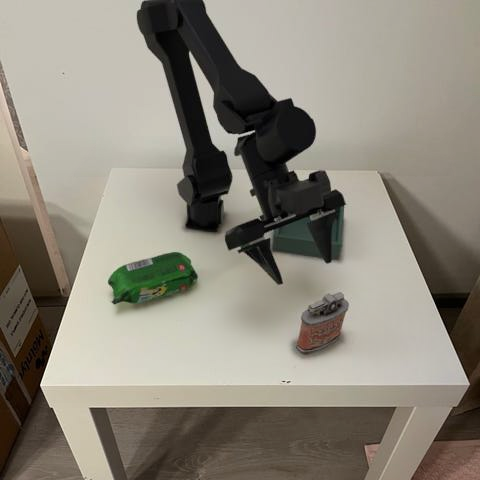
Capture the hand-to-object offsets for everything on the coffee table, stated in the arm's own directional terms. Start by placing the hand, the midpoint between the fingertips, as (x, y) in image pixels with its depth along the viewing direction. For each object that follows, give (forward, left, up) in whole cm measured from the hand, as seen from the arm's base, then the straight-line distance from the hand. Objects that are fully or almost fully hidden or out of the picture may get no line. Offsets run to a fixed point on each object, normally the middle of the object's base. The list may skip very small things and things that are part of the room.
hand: (305, 273), depth 73 cm
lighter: (+4, -4, -11) cm, 12 cm away
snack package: (-25, +2, -11) cm, 27 cm away
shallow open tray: (0, +23, -10) cm, 25 cm away
